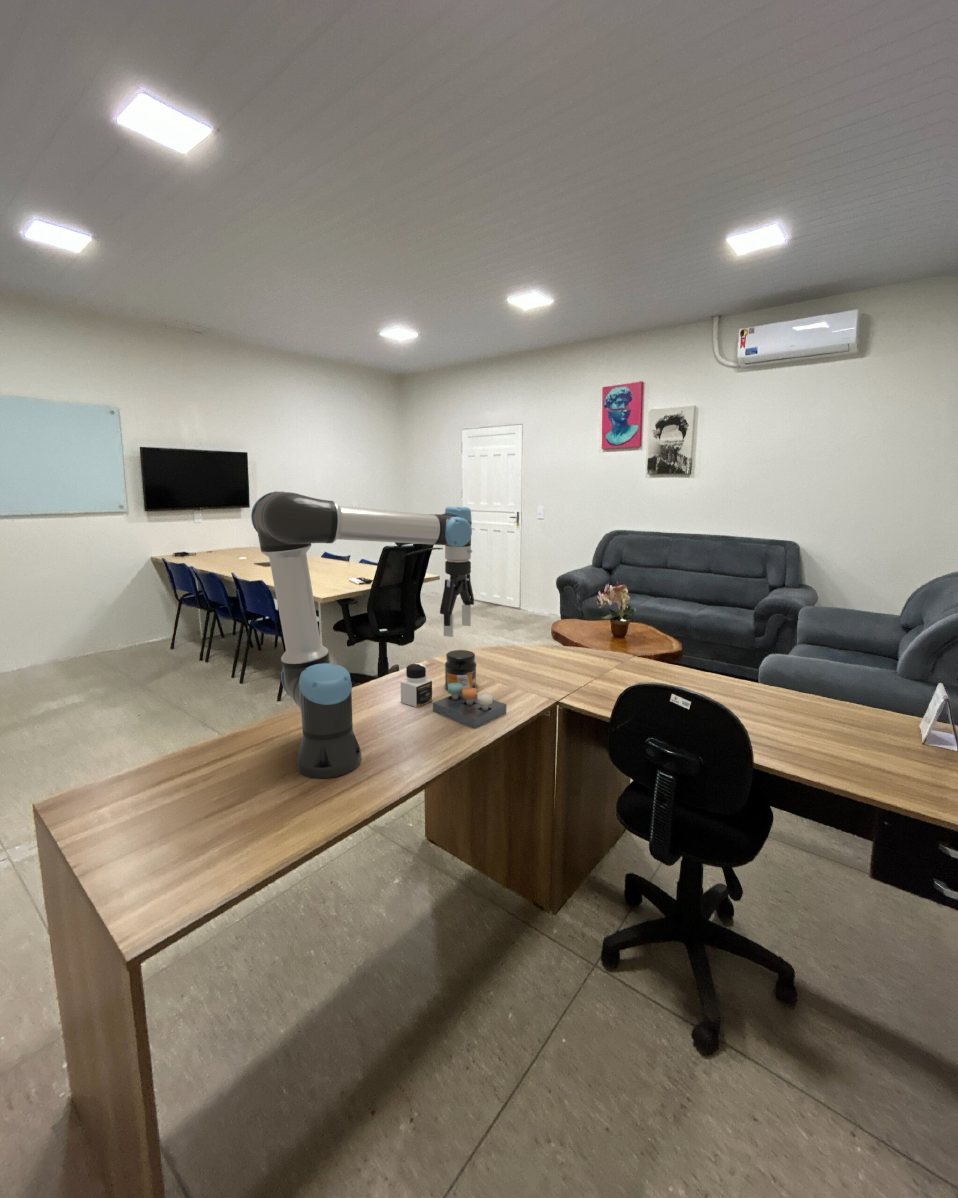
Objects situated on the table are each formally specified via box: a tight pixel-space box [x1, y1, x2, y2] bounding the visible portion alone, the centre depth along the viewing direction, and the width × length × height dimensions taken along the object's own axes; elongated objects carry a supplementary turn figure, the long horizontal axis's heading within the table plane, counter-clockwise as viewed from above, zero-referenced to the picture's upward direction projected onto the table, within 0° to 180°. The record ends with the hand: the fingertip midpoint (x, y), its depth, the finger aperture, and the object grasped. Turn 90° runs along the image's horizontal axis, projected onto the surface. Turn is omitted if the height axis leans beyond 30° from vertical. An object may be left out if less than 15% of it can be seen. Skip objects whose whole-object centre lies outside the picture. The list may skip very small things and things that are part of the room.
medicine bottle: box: [400, 662, 433, 708], centre depth 167 cm, size 7×7×12 cm
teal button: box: [447, 683, 462, 701], centre depth 163 cm, size 4×4×5 cm
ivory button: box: [477, 692, 494, 712], centre depth 155 cm, size 4×4×5 cm
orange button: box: [462, 687, 478, 706], centre depth 159 cm, size 4×4×5 cm
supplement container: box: [444, 649, 477, 690], centre depth 179 cm, size 10×10×12 cm
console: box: [432, 693, 507, 729], centre depth 160 cm, size 14×17×3 cm
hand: (457, 630), depth 160 cm, fingers open, 13 cm apart
